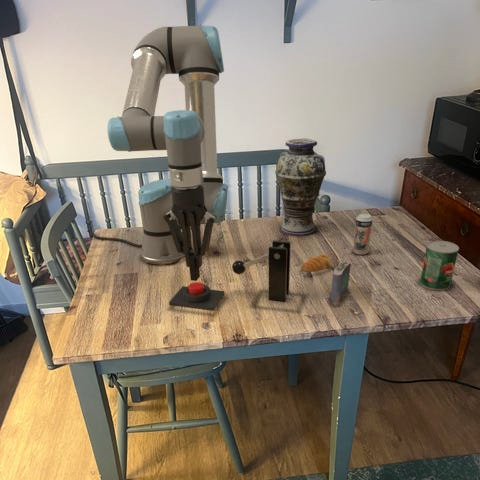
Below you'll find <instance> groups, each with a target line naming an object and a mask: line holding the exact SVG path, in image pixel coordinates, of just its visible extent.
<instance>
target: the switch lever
mask: <svg viewBox="0 0 480 480" xmlns="http://www.w3.org/2000/svg"><path fill="white" fill-rule="evenodd" d="M277 247H281V248H285V246H284V244H282V245H279V246H277ZM266 260H269V252H268V253H266V254H263V255H261V256H258V257H256V258H253V259H250V260H248V261H245V262H244V261H243V260H236V261H234V262H233V263H232V265H231V270H232V272H233V273H234V274H236V275H243V274H244V273H245V272H246V270H247V268H248V267H251V266H253V265H256V264H259V263H260V262H264V261H266Z"/></svg>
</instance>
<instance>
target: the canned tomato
mask: <svg viewBox="0 0 480 480" xmlns="http://www.w3.org/2000/svg"><path fill="white" fill-rule="evenodd" d="M459 250H460V247H459V246H458V245H457V244H456V243H454V242H451V241H446V240H432V241H429V242H427V244H426V249H425V253H424V259H423V264H422V269H421V274H420V279H419V284H420V285H421V286H422V287H423V288H425V289H428V290H432V291H446V290H448V289H449V288H451V284H452V280H453V277H454V272H455V267H456V262H457V258H458V255H459Z"/></svg>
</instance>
